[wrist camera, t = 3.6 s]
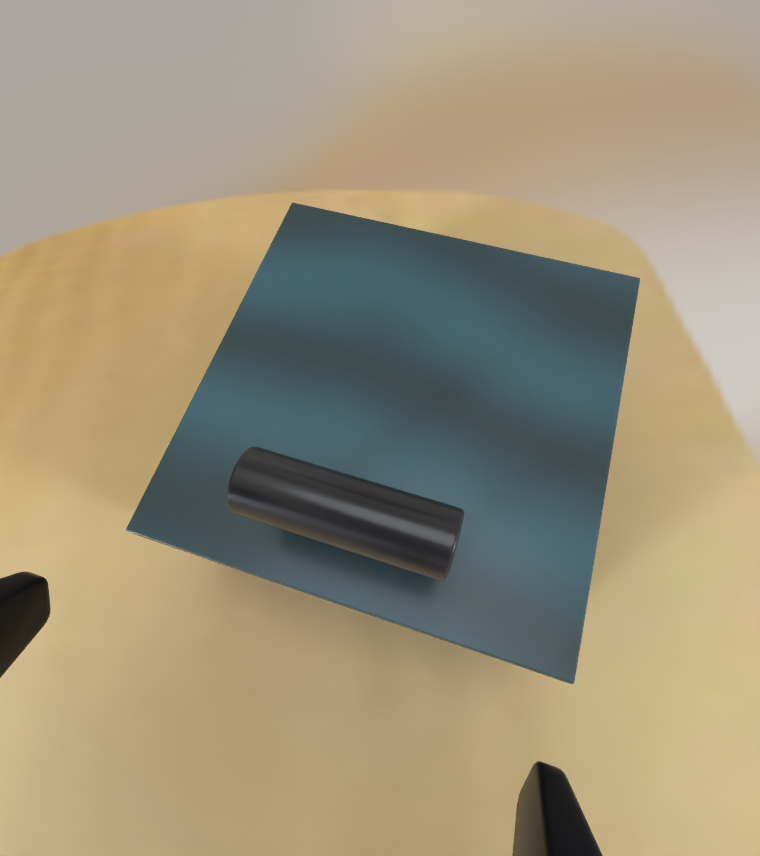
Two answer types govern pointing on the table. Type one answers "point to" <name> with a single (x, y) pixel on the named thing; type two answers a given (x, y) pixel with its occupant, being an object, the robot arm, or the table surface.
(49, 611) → the robot arm
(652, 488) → the table surface
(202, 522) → the lid
